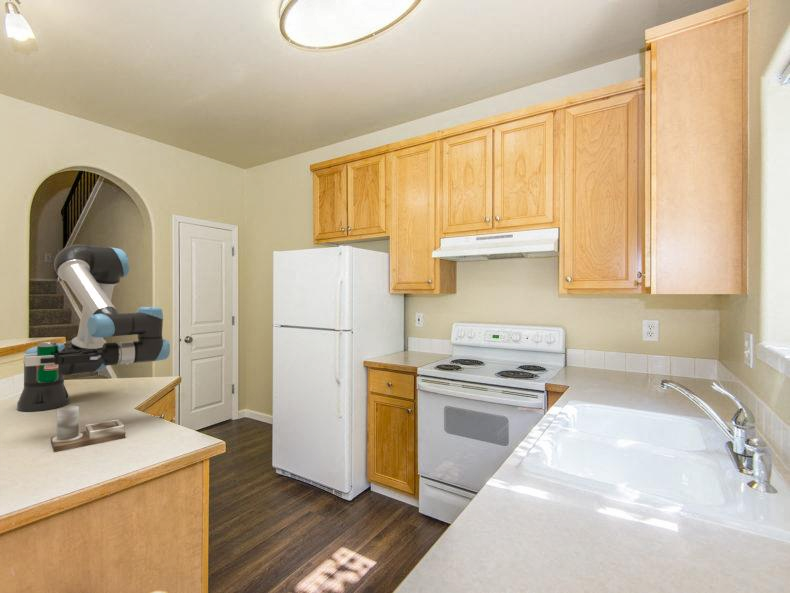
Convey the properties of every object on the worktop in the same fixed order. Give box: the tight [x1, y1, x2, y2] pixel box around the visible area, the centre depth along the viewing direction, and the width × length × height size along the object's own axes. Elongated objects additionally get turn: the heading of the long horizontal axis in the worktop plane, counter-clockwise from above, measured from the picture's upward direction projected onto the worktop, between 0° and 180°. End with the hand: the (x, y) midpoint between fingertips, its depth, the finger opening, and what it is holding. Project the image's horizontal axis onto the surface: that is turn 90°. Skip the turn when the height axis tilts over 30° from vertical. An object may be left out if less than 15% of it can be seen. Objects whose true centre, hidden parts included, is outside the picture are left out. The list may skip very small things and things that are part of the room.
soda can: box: [36, 341, 59, 383], centre depth 124 cm, size 5×5×12 cm
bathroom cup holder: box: [50, 405, 127, 453], centre depth 123 cm, size 17×10×10 cm, turn 135°
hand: (25, 360), depth 121 cm, fingers closed on soda can, 5 cm apart
